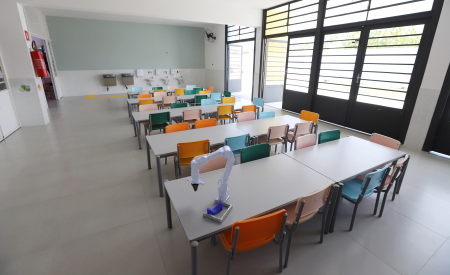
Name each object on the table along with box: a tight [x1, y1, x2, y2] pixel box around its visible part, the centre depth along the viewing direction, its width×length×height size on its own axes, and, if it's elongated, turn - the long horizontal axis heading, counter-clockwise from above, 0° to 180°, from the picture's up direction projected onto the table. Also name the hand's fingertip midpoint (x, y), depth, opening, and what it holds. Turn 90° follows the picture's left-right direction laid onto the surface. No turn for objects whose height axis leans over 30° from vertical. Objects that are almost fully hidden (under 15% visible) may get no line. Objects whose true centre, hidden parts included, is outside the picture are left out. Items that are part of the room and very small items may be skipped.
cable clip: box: [206, 202, 224, 216], centre depth 160 cm, size 12×4×6 cm, turn 131°
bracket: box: [202, 198, 233, 223], centre depth 161 cm, size 18×14×2 cm
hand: (195, 190), depth 169 cm, fingers closed
